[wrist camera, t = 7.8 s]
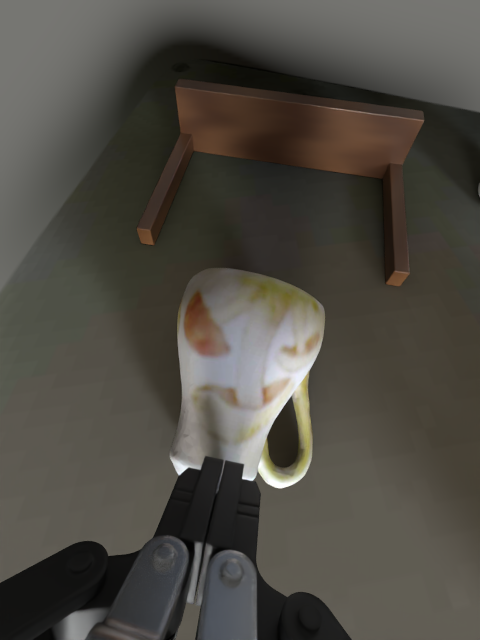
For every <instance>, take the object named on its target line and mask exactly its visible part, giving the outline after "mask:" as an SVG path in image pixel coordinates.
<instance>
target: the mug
mask: <svg viewBox="0 0 480 640" xmlns="http://www.w3.org/2000/svg"><path fill="white" fill-rule="evenodd" d="M324 324H325V312H324V308H323V306H322V305H321V303H319V302H318V301H317V300H316V299H315V298H314V297H313V296H311V295H310V294H308V293H306V292H305V291H303V290H301V289H299V288H297V287H295V286H293V285H291V284H288V283H286V282H283V281H281V280H278V279H275V278H272V277H269V276H265V275H261V274H257V273H253V272H248V271H243V270H237V269H230V268H209V269H205V270H203V271H201V272H200V273H198V274H196V275H194V276H193V277H192V278H191V280H190V281H189V283H188V285H187V287H186V290H185V293H184V295H183V297H182V300H181V303H180V306H179V311H178V320H177V339H178V352H179V361H180V374H181V384H182V404H181V412H180V417H179V421H178V427H177V430H176V433H175V437H174V440H173V443H172V446H171V450H170V458H171V460H172V462H173V464H174V467H175V469H176V472H177V473H178V474H179V475H180V474H181V473H182V472H184V471H185V470H186V469H187V468H188V467H189V468H194V469H199V470H201V467H202V464H203V461H204V458H205V456H209V457H213V458H218V459H223V460H224V464H225V460H228V461H233V462H237V463H242V464H244V469H243V476H242V479H246V480H250V481H252V480H254V479H255V477H256V474H257V470H258V472H259V474H260V475H261V476H262V478H263V479H264V481H265V482H266V483H267V484H269V485H271V486H273V487H276V488H284V487H287V486H290V485H292V484H294V483H296V482H298V481H299V480H300V479H301V478H302V477H303V476H304V475H305V473H306V471H307V470H308V467H309V465H310V463H311V459H312V447H313V434H312V426H311V419H310V409H309V407H310V403H309V396H308V379H309V370H310V368H311V367H312V365H313V363H314V361H315V359H316V357H317V355H318V353H319V350H320V347H321V343H322V340H323V334H324ZM291 395H292V399H293V403H294V408H295V413H296V418H297V424H298V433H299V444H298V454H297V458H296V460H295V462H294V463H293V464H292V465H291V466H289V467H286V468H281V467H278V466H276V465H274V463H273V462H272V461H271V459H270V456H269V451H268V441H267V435H268V433H269V431H270V428H271V426H272V424H273V422H274V420H275V419H276V417H277V416H278V414H279V413H280V411H281V410H282V408H283V407H284V405H285V404H286V402H287V401H288V400H289V398H290V397H291ZM224 464H223V469H224ZM222 473H223V470H222ZM221 477H222V476H221Z"/></svg>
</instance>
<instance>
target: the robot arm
mask: <svg viewBox="0 0 480 640" xmlns="http://www.w3.org/2000/svg"><path fill="white" fill-rule="evenodd" d="M223 464H224V460H223V459H218V458H213V457H209V456H205V458H204V461H203V464H202V467H201V470H199V469H194V468H189V467H188V468H187V469H186V470H185V471H184V472H182V473H181V474H180V475H179V476H178V479H177V481H176V484H175V486H174V489H173V491H172V494H171V496H170V499H169V501H168V503H167V506H166V508H165V511H164V513H163V515H162V518H161V520H160V523H159V525H158V528H157V530H156V532H155V535H154V537H153V538H152V539H151V540H149V541H148V542H147V543H146V544H145V545H144V546H143V548H142V549H140V550H139V551H136V552H134V553H131V554H125V555H115V556H108V554H107V551H106V549H105V548H104V547H103V546H102V545H101V544H99V543H96V542H93V541H83V542H78V543H75V544H73V545H71V546H69V547H67V548H65V549H63V550H61V551H59V552H57V553H56V554H54V555H52V556H50V557H48V558H46V559H44V560H42V561H41V562H39V563H37V564H35V565H33V566H31V567H29V568H28V569H26V570H24V571H22V572H20V573H18V574H16V575H14V576H13V577H11V578H9V579H7V580H5V581H3V582H1V583H0V640H175V639H176V636H177V632H178V628H179V626H180V624H181V621H182V617H183V613H184V609H185V605H186V603H190V604H194V599H195V595H196V591H197V586H198V582H199V587H198V593H197V599H196V605H199V606H201V609H200V614H199V620H198V626H197V632H196V638H195V640H351V638H350V637H349V635H348V634H347V633H346V631H345V630H344V629H343V627H342V626H341V625H340V623H339V622H338V621H337V619H336V618H335V616H334V615H333V614H332V612H331V611H330V610H329V608H328V607H327V606H326V605H325V604H324V603H323V602H322V601H321V600H320V599H319V598H317V597H316V596H314V595H312V594H309V593H305V592H297V593H294V594H291V595H290V596H289V597H288V598H287V597H286V596H284V595H283V594H281V593H279V592H278V591H276V590H274V589H273V588H272V587H270V586H269V585H268V584H267V583H266V582H265V581H264V580H263V578H262V577H261V575H260V573H259V571H258V568H257V564H256V551H257V537H258V523H259V510H260V508H259V507H260V496H261V493H260V491H259V488H258V486H257V483H256V482H255V481H250V480H246V479H242V476H243V469H244V464H242V463H237V462H233V461H228V460H225V464H224V469H223ZM222 470H223V473H222ZM221 476H222V477H221ZM200 573H201V575H200ZM199 578H200V581H199Z"/></svg>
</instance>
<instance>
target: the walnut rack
mask: <svg viewBox="0 0 480 640" xmlns="http://www.w3.org/2000/svg"><path fill="white" fill-rule="evenodd" d="M175 92H176V100H177V108H178V116H179V124H180V132H181V134H180V136H179V138H178V140H177V142H176V144H175V146H174V149H173V151H172V153H171V155H170V157H169V159H168V161H167V164H166V166H165V168H164V170H163V172H162V174H161V176H160V179H159V181H158V183H157V185H156V187H155V189H154V191H153V194H152V196H151V198H150V200H149V202H148V204H147V206H146V209H145V211H144V213H143V215H142V217H141V219H140V221H139V224H138V226H137V232H138V235H139V238H140V241H141V243H143V244H149V245H155V242H156V240H157V237H158V235H159V233H160V230H161V228H162V225H163V223H164V221H165V218H166V216H167V213H168V211H169V209H170V206H171V204H172V201H173V199H174V197H175V194H176V192H177V189H178V187H179V185H180V182H181V180H182V177H183V175H184V173H185V170H186V168H187V165H188V163H189V161H190V158H191V156H192V153H193V151H197V152H204V153H211V154H217V155H224V156H231V157H238V158H244V159H251V160H258V161H265V162H271V163H278V164H285V165H292V166H299V167H305V168H312V169H319V170H326V171H332V172H339V173H346V174H353V175H359V176H366V177H373V178H380V179H383V210H384V247H385V283H386V284H387V285H393V286H401V284H402V283H403V282H404V280H405V279H406V278H407V276H408V275H409V274H410V270H409V256H408V242H407V228H406V214H405V200H404V186H403V172H402V164H403V162H404V160H405V158H406V156H407V154H408V152H409V150H410V148H411V146H412V144H413V142H414V140H415V138H416V136H417V134H418V132H419V130H420V128H421V126H422V124H423V122H424V115H423V111H418V110H411V109H403V108H396V107H388V106H381V105H373V104H366V103H358V102H351V101H343V100H336V99H328V98H321V97H314V96H306V95H299V94H291V93H284V92H276V91H269V90H261V89H254V88H246V87H239V86H231V85H224V84H216V83H209V82H201V81H194V80H186V79H179V80H178V82H177V84H176V86H175Z"/></svg>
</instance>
